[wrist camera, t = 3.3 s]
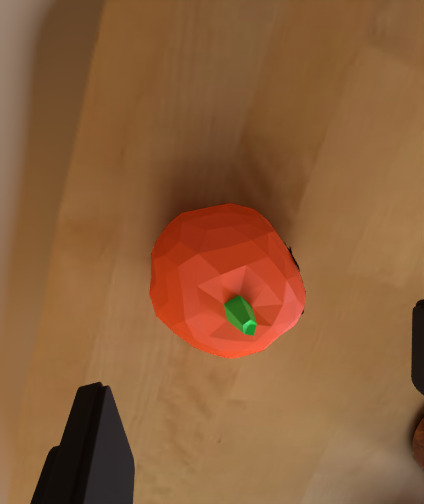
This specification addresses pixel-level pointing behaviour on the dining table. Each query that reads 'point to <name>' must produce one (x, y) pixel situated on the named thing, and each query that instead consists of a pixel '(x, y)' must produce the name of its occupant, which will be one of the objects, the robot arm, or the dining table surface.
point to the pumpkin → (225, 280)
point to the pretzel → (419, 444)
